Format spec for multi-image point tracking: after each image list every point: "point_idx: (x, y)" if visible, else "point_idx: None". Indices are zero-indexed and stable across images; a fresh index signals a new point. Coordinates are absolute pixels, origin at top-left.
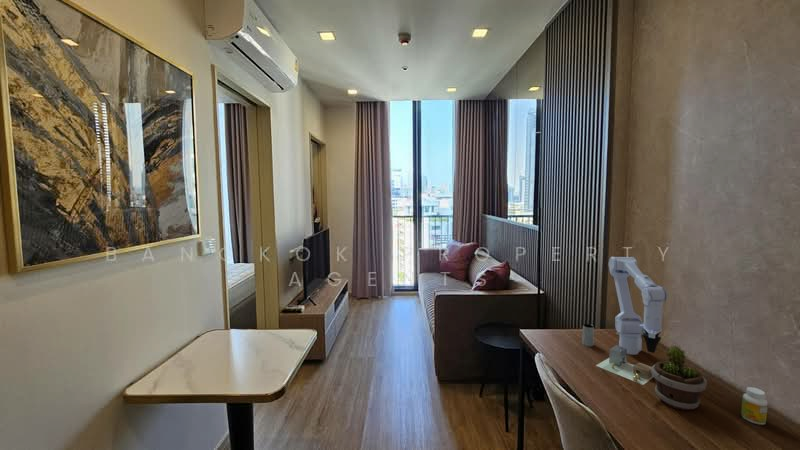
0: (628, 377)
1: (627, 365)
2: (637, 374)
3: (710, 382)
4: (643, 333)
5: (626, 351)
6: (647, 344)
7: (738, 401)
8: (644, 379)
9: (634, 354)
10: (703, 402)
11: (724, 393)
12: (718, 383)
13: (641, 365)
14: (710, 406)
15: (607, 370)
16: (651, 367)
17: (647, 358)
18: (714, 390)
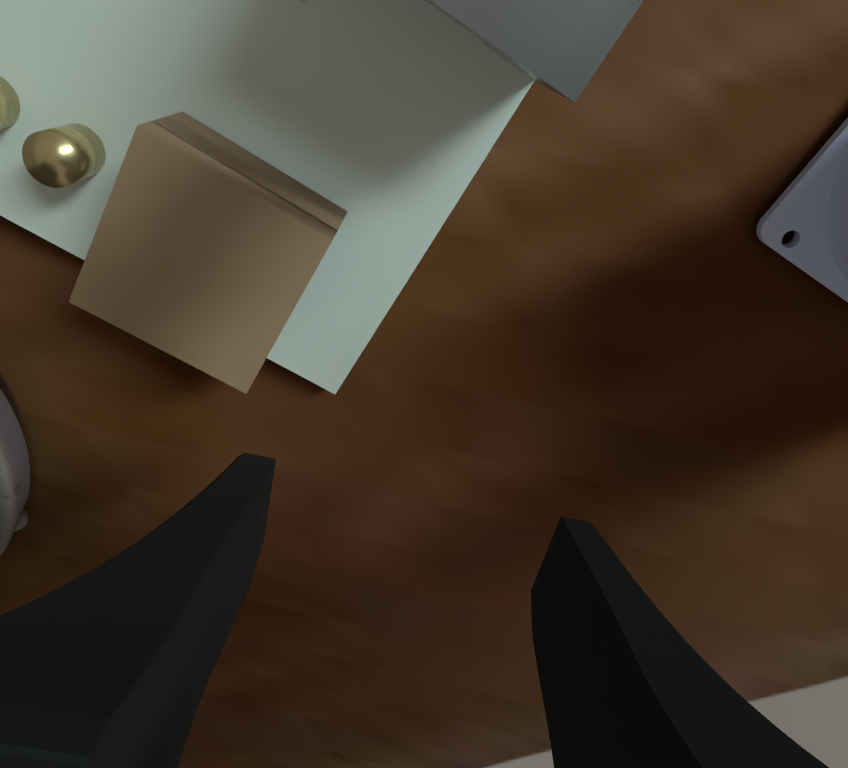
0: (23, 19)
1: (424, 78)
2: (42, 149)
3: (430, 709)
4: (15, 761)
5: (551, 88)
6: (150, 550)
7: (209, 757)
8: (97, 224)
9: (842, 253)
10: (42, 587)
11: (286, 729)
12: (437, 743)
13: (232, 253)
14: (8, 609)
15: None
16: (237, 369)
17: (808, 385)
18: (301, 695)
